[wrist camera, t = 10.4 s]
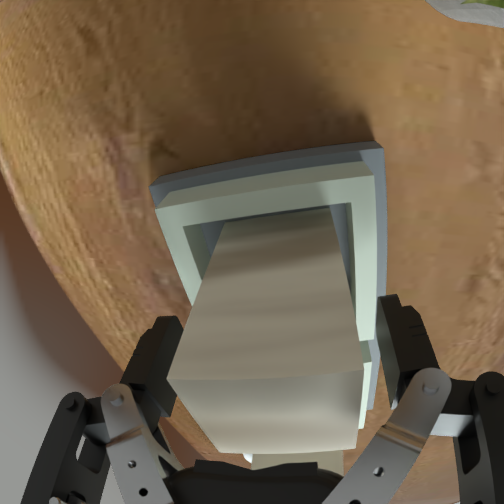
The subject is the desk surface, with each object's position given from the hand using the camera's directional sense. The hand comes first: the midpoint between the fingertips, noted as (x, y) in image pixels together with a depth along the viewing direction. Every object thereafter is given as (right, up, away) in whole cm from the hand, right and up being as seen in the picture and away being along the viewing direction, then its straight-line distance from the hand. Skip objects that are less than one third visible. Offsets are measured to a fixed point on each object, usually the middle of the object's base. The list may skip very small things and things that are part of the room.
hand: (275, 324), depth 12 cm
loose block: (+1, +2, +4) cm, 5 cm away
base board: (+2, -1, +8) cm, 8 cm away
